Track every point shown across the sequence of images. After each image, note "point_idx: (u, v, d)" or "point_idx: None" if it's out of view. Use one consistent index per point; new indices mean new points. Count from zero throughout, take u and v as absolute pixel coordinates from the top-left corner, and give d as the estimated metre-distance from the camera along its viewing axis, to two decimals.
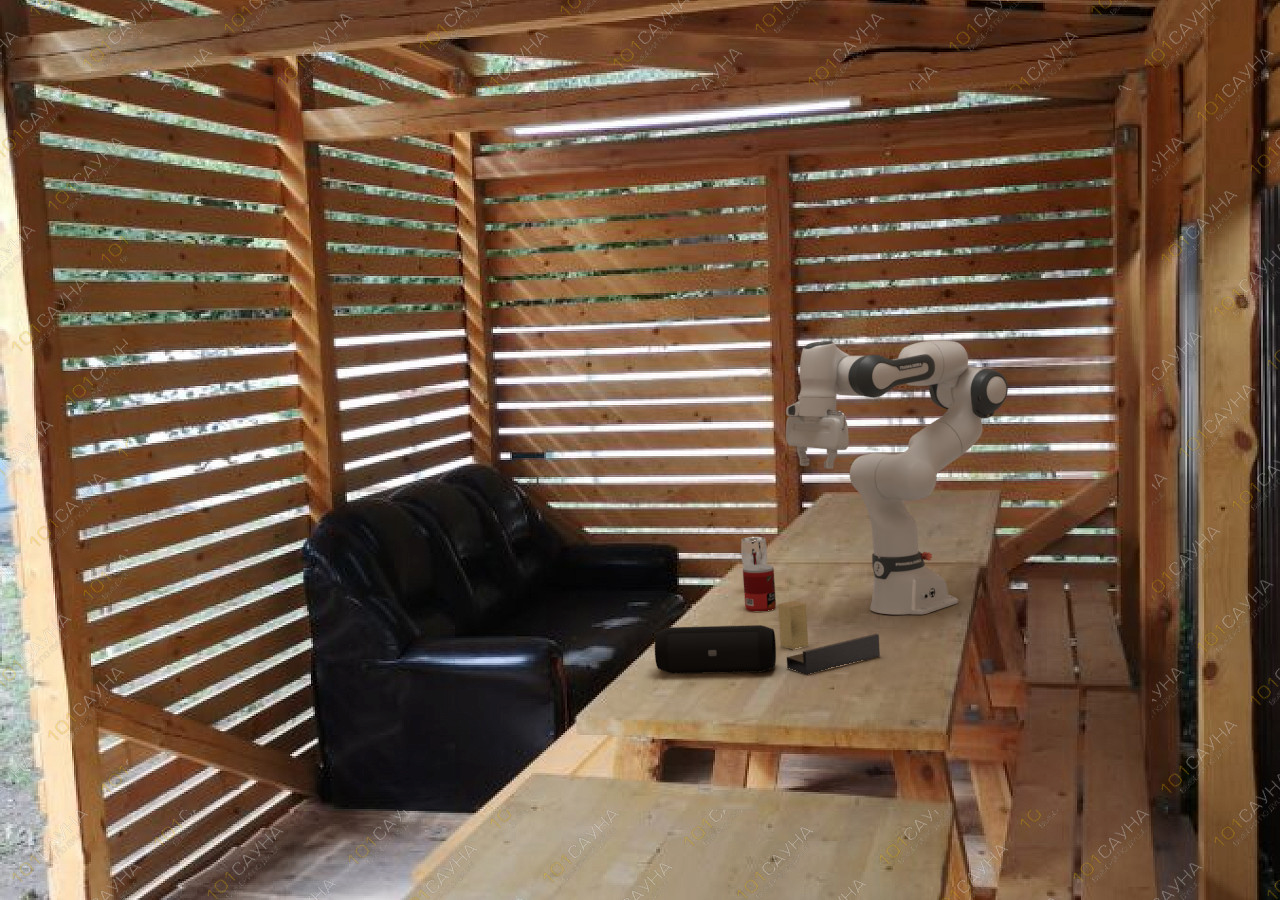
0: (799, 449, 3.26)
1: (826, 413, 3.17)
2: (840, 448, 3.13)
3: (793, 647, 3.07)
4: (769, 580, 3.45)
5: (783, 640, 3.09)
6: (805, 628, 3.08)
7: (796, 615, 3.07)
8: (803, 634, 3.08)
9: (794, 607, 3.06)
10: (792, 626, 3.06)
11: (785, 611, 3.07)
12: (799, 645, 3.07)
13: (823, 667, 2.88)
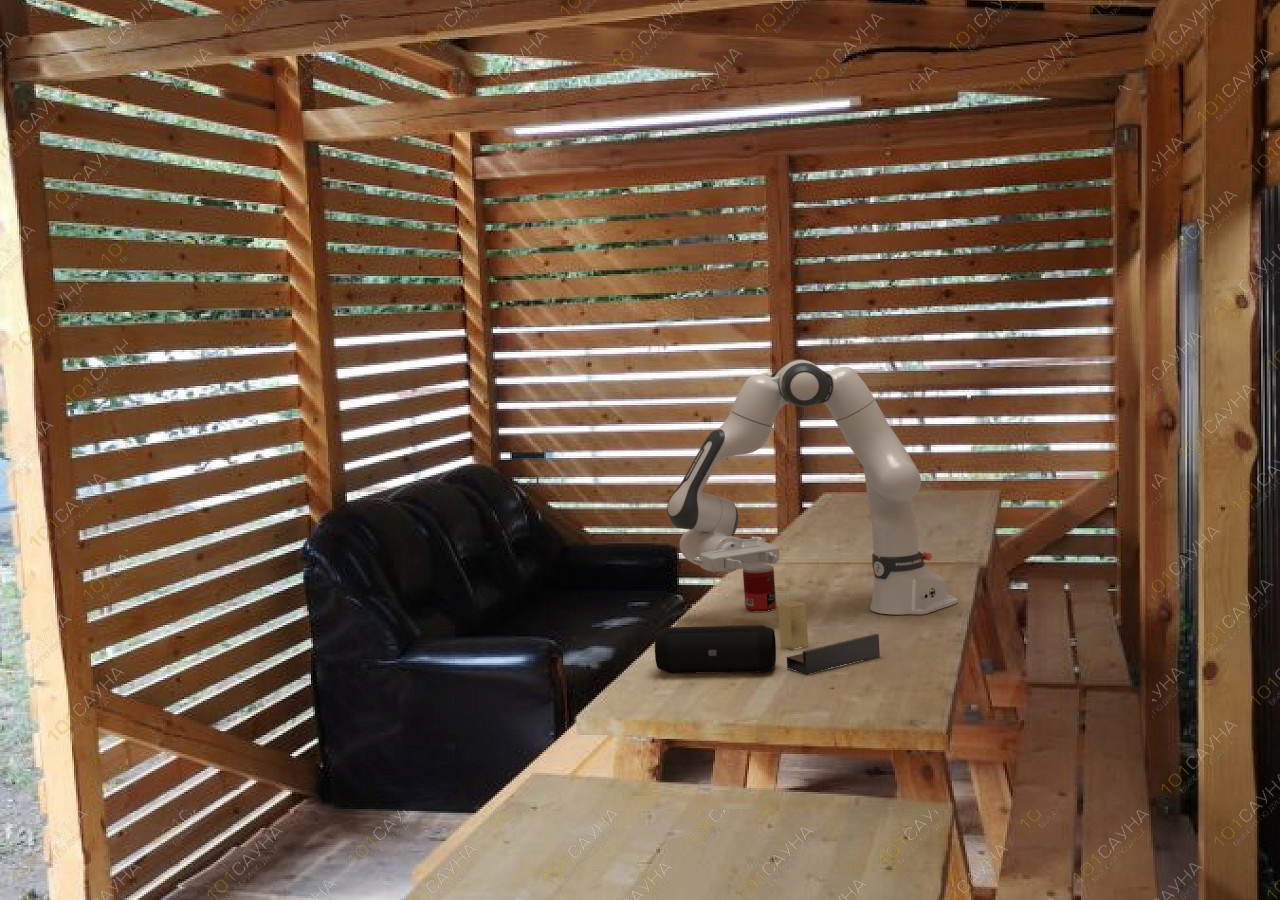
0: (767, 561, 3.24)
1: None
2: (712, 567, 3.17)
3: (793, 647, 3.07)
4: (769, 580, 3.45)
5: (783, 640, 3.09)
6: (805, 628, 3.08)
7: (796, 615, 3.07)
8: (803, 634, 3.08)
9: (794, 607, 3.06)
10: (792, 626, 3.06)
11: (785, 611, 3.07)
12: (799, 645, 3.07)
13: (823, 667, 2.88)
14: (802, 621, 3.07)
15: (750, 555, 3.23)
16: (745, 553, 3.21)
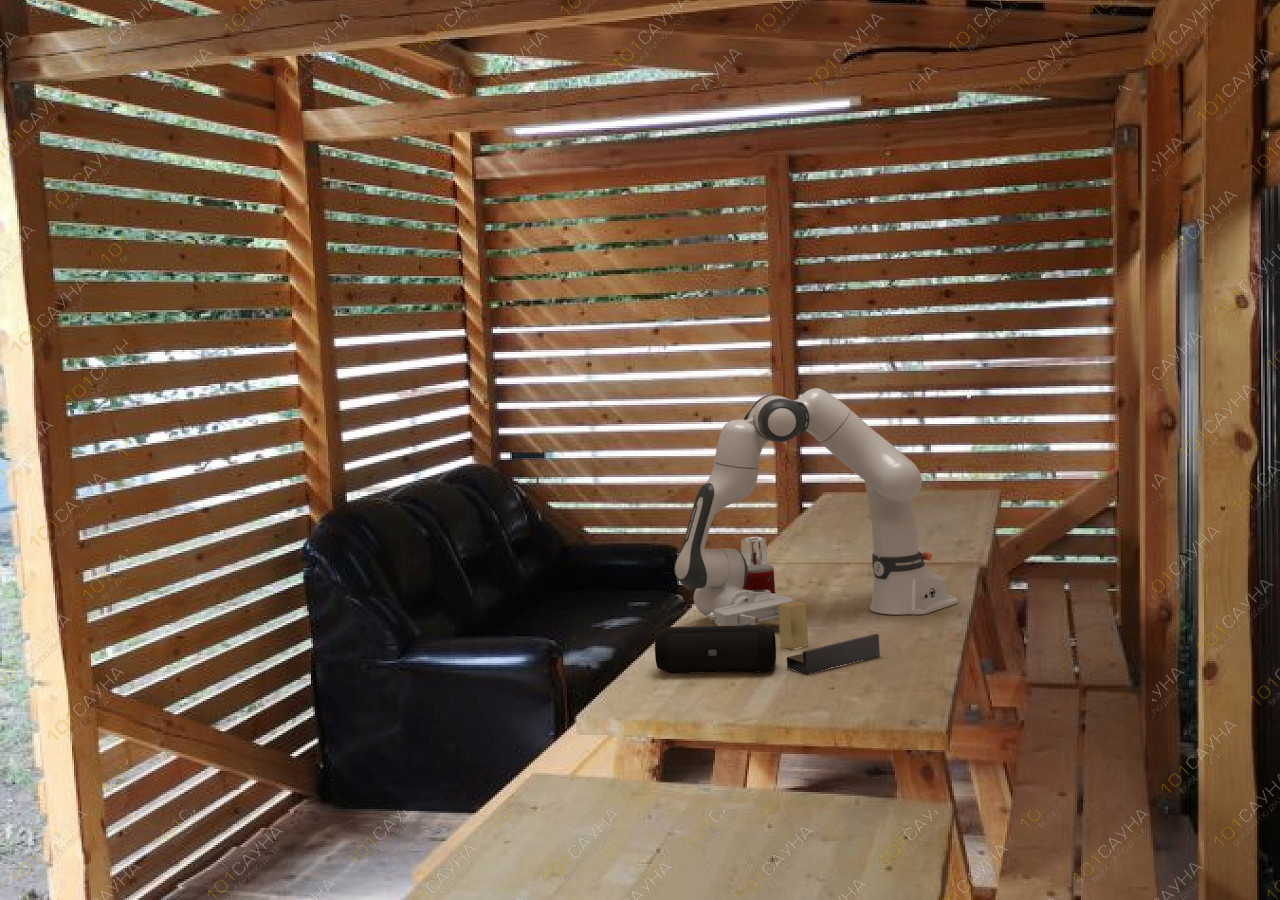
0: None
1: None
2: (726, 623, 3.16)
3: (793, 647, 3.07)
4: (769, 580, 3.45)
5: (783, 640, 3.09)
6: (805, 628, 3.08)
7: (796, 615, 3.07)
8: (803, 634, 3.08)
9: (794, 607, 3.06)
10: (792, 626, 3.06)
11: (785, 611, 3.07)
12: (799, 645, 3.07)
13: (823, 667, 2.88)
14: (802, 621, 3.07)
15: (764, 609, 3.21)
16: (759, 608, 3.20)
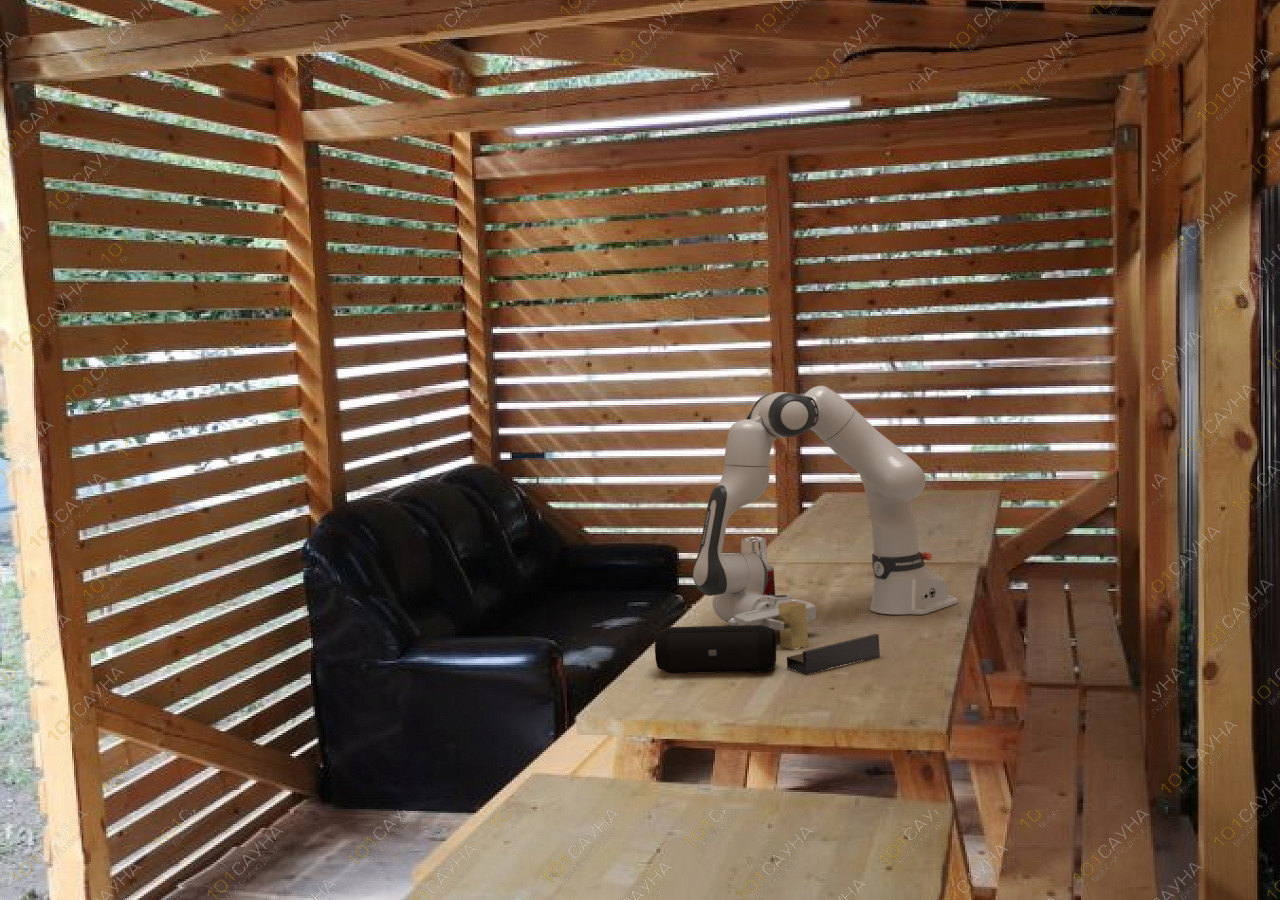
0: None
1: None
2: None
3: (793, 647, 3.07)
4: (769, 580, 3.45)
5: (783, 640, 3.09)
6: (805, 628, 3.08)
7: (796, 615, 3.07)
8: (803, 634, 3.08)
9: (794, 607, 3.06)
10: (792, 626, 3.06)
11: (785, 611, 3.07)
12: (799, 645, 3.07)
13: (823, 667, 2.88)
14: (802, 621, 3.07)
15: None
16: None
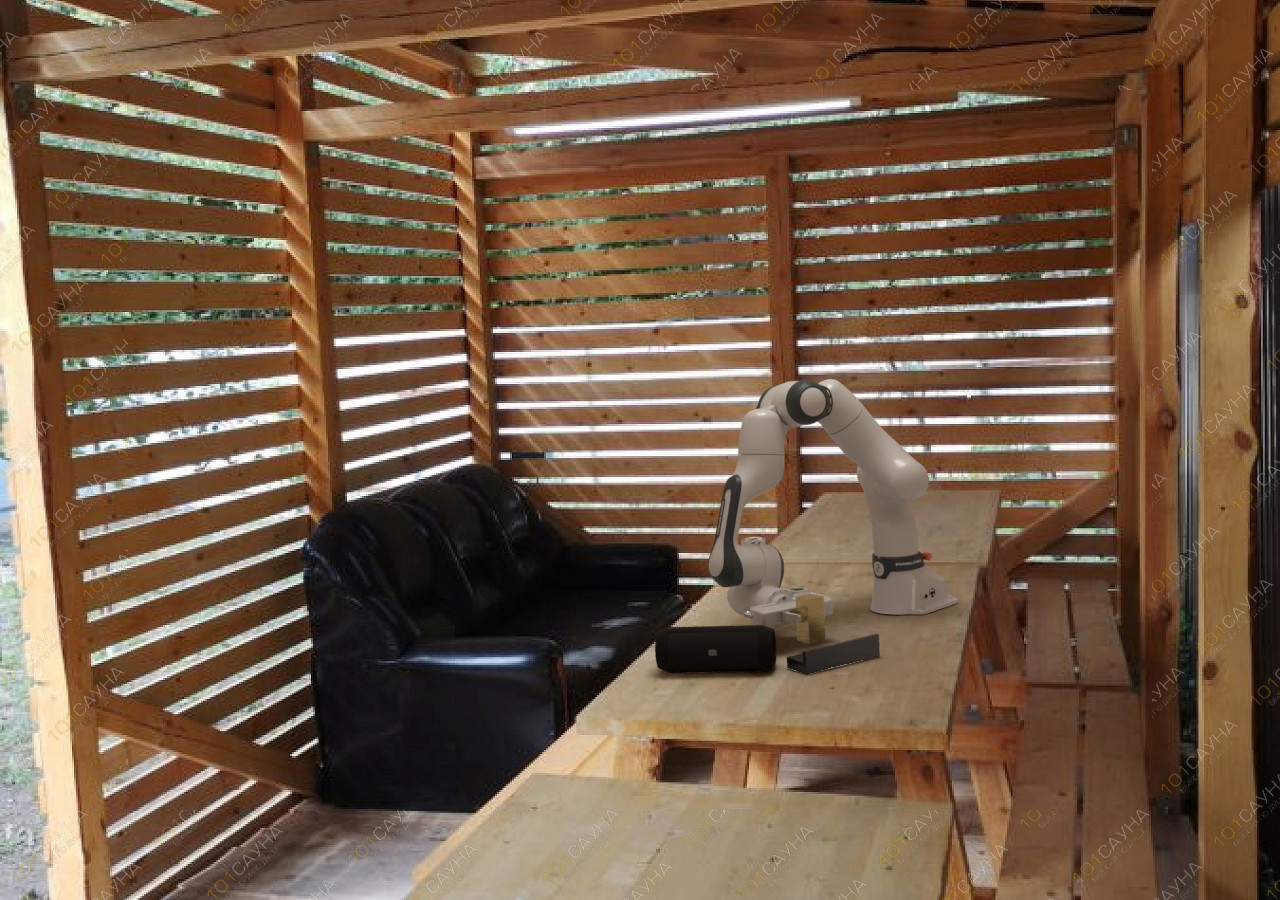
0: None
1: None
2: (764, 622, 3.01)
3: (810, 641, 3.00)
4: None
5: (800, 633, 3.02)
6: (822, 621, 3.01)
7: (814, 608, 3.00)
8: (821, 627, 3.01)
9: (812, 600, 2.99)
10: (809, 619, 2.99)
11: (802, 603, 3.00)
12: (816, 639, 3.01)
13: (823, 667, 2.88)
14: (820, 614, 3.01)
15: None
16: None
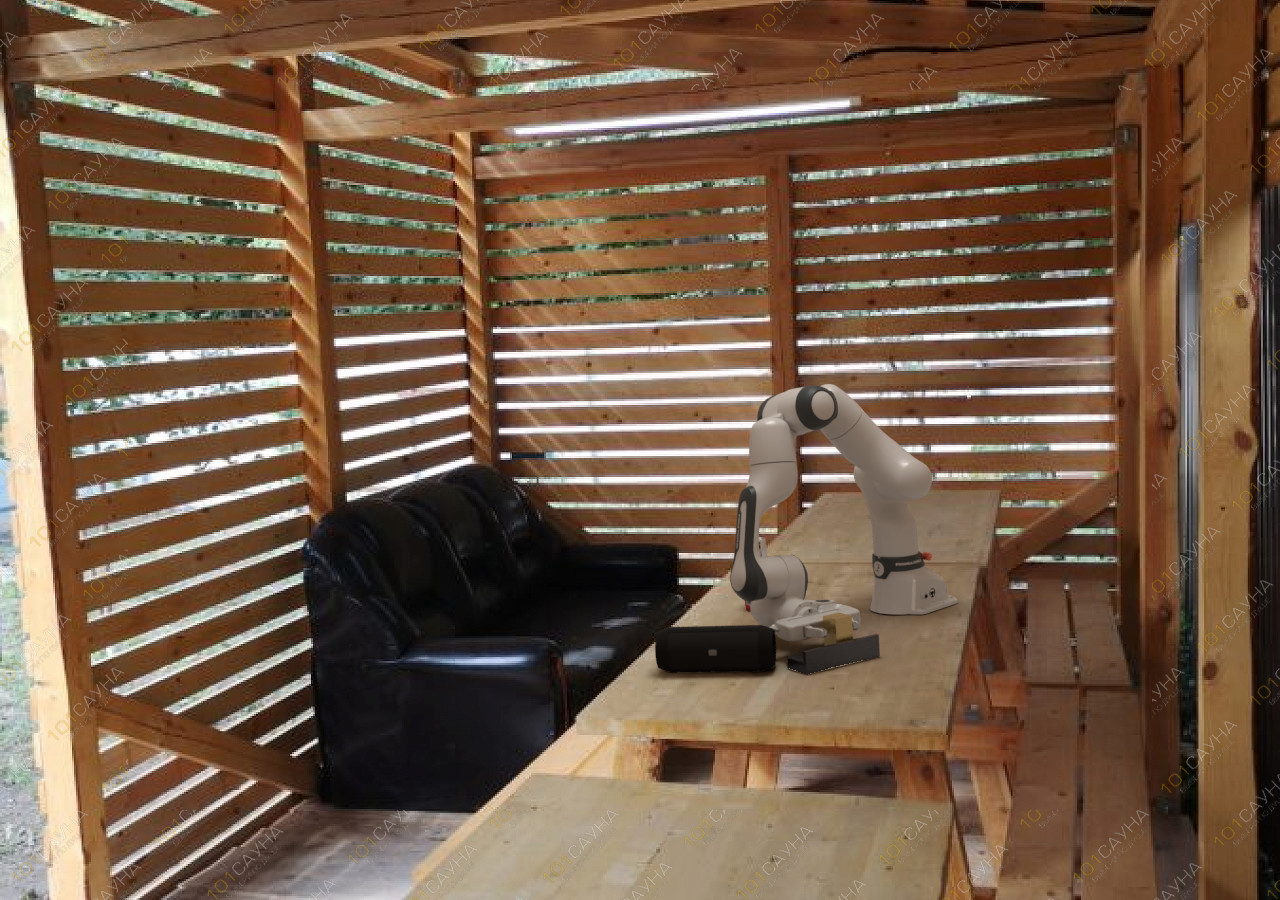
0: None
1: None
2: (790, 636, 2.93)
3: None
4: None
5: None
6: None
7: (842, 628, 2.92)
8: None
9: (840, 619, 2.92)
10: (838, 639, 2.92)
11: (830, 623, 2.93)
12: None
13: (823, 667, 2.88)
14: (848, 634, 2.93)
15: None
16: None
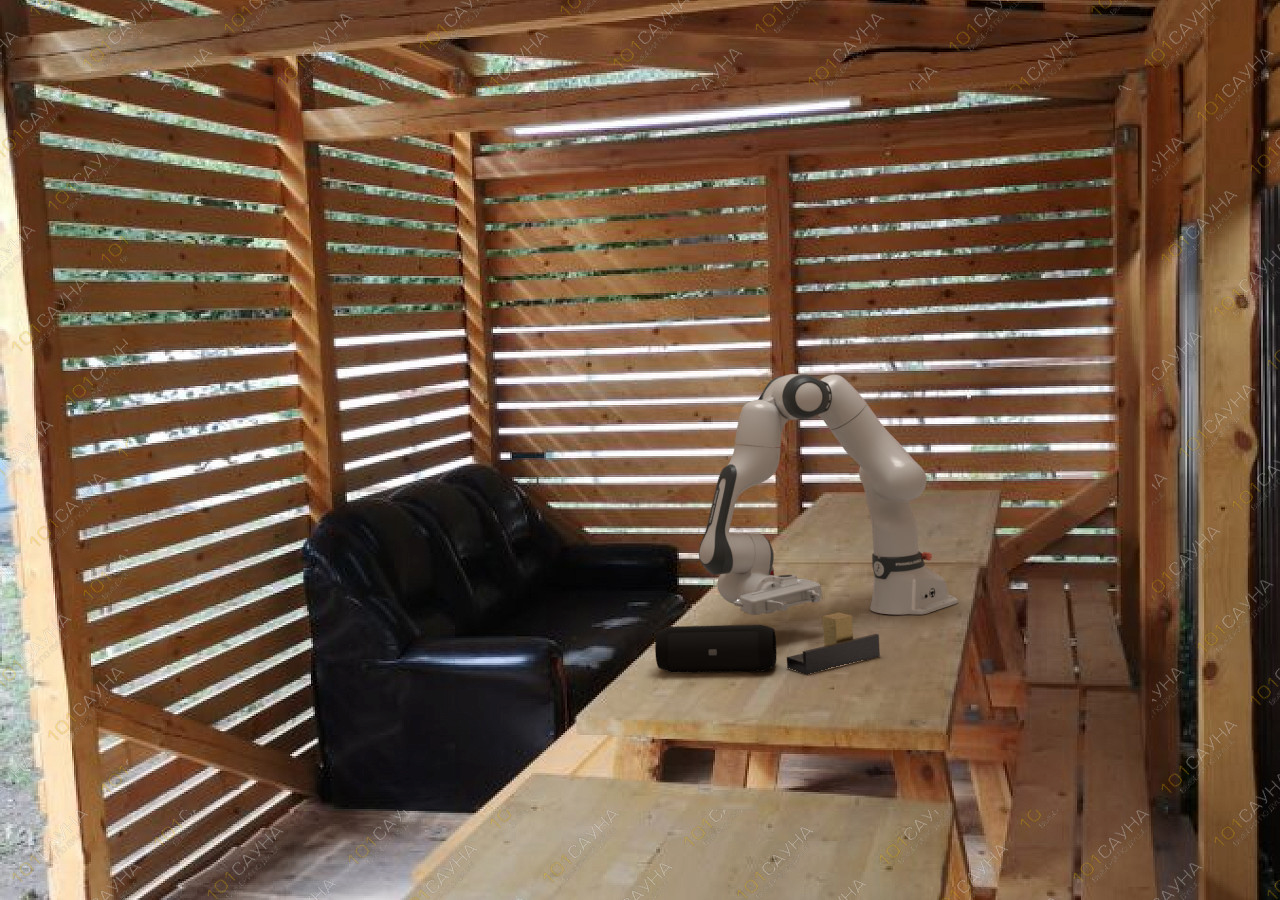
0: (810, 599, 3.13)
1: None
2: (754, 610, 3.06)
3: None
4: None
5: None
6: None
7: (842, 628, 2.92)
8: None
9: (840, 619, 2.92)
10: (838, 639, 2.92)
11: (830, 623, 2.93)
12: None
13: (823, 667, 2.88)
14: (848, 634, 2.93)
15: (792, 595, 3.12)
16: (786, 593, 3.11)
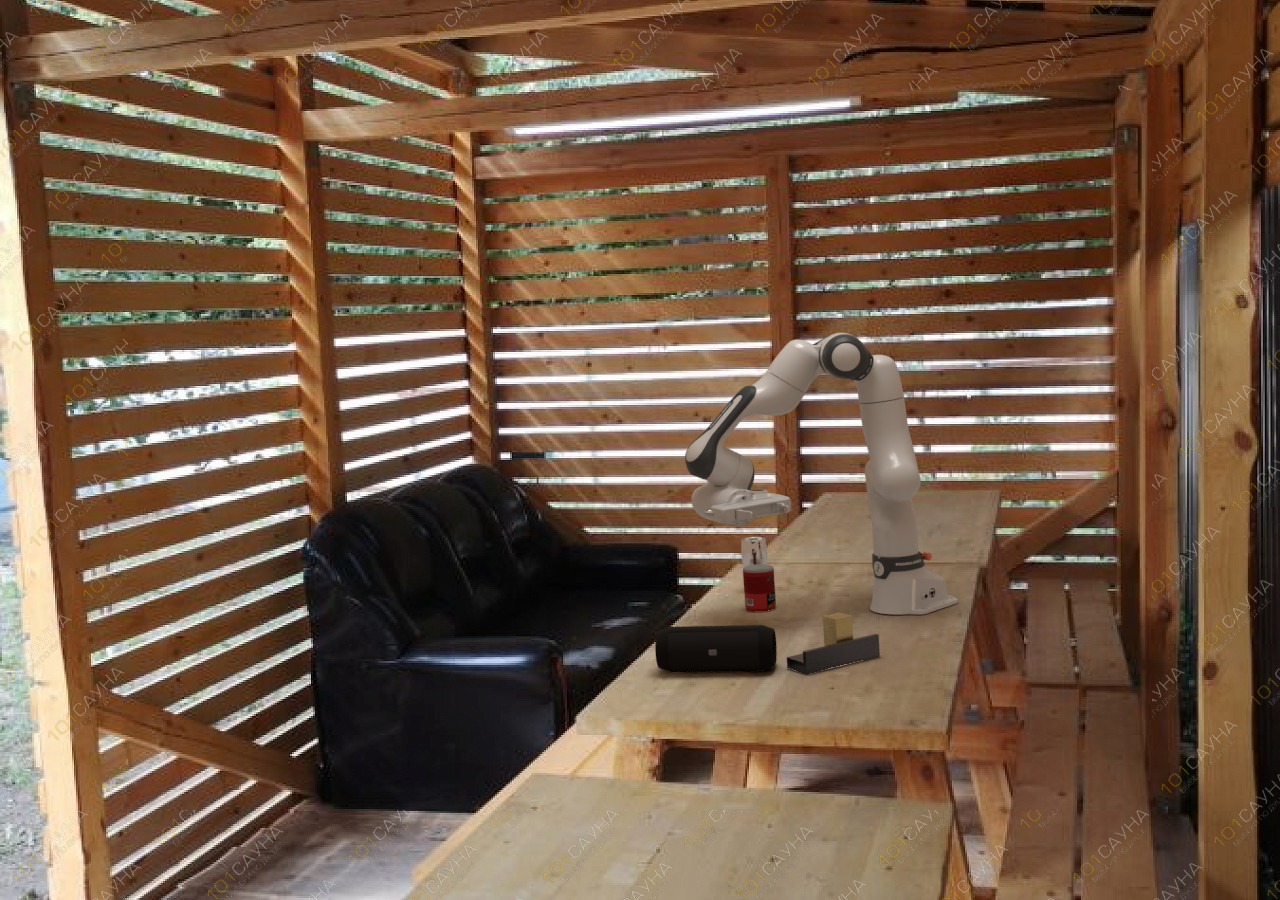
0: (779, 512, 3.21)
1: None
2: (723, 518, 3.15)
3: None
4: (769, 580, 3.45)
5: None
6: None
7: (842, 628, 2.92)
8: None
9: (840, 619, 2.92)
10: (838, 639, 2.92)
11: (830, 623, 2.93)
12: None
13: (823, 667, 2.88)
14: (848, 634, 2.93)
15: (761, 506, 3.20)
16: (756, 504, 3.19)
